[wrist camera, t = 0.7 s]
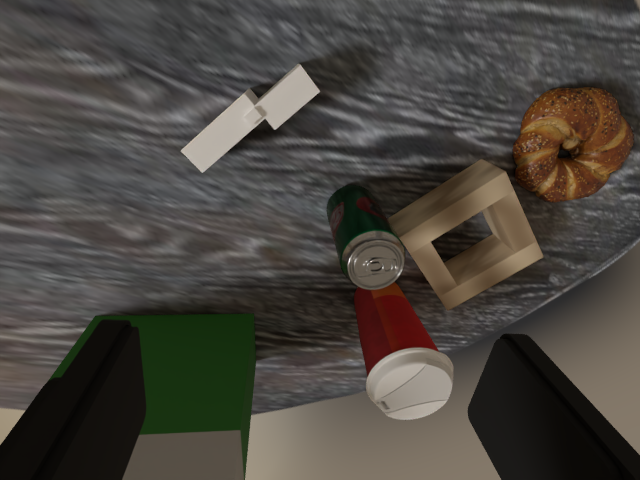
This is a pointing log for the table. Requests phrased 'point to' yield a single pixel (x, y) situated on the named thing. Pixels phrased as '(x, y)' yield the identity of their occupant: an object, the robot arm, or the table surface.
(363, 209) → the soda can
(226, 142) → the white stepped block
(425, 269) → the holder
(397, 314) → the paper cup
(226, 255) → the table surface
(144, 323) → the hardback book
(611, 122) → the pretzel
